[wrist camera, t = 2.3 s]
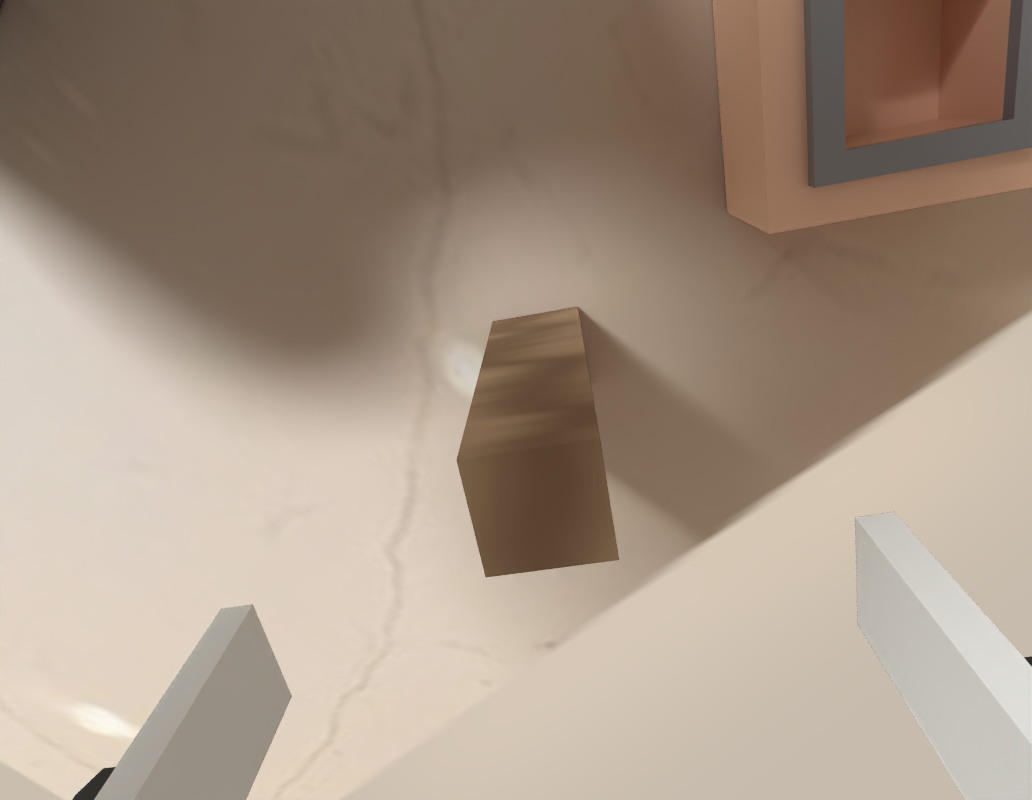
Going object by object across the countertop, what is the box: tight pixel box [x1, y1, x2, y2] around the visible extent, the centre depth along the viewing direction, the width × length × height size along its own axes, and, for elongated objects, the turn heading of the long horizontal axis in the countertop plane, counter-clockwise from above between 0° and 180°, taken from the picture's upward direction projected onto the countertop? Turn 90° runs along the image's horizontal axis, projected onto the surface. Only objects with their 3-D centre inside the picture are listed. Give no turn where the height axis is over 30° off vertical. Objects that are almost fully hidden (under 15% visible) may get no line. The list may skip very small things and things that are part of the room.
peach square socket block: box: [712, 0, 1032, 234], centre depth 24 cm, size 10×10×7 cm
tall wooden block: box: [457, 307, 619, 577], centre depth 26 cm, size 4×4×14 cm
